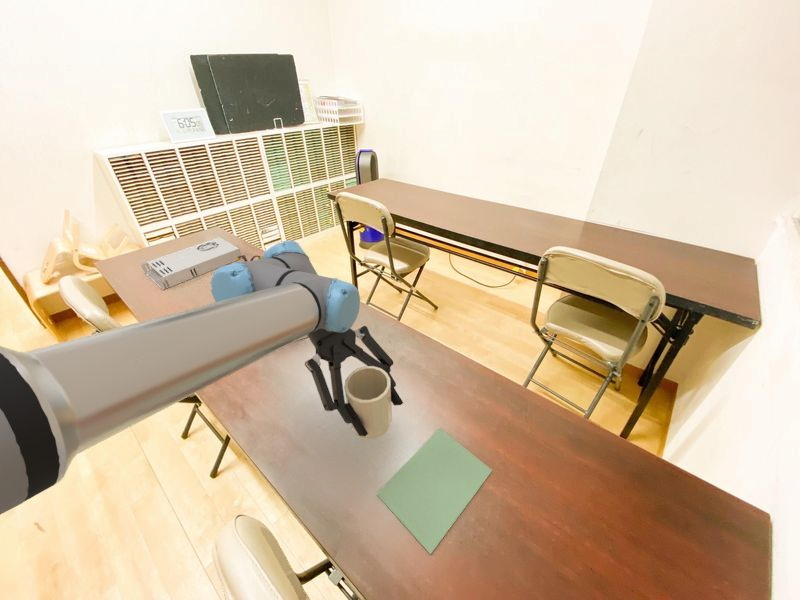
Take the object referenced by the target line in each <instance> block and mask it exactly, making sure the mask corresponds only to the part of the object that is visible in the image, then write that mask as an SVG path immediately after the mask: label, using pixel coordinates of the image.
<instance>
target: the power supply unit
mask: <svg viewBox="0 0 800 600" xmlns="http://www.w3.org/2000/svg"><path fill="white" fill-rule="evenodd" d="M242 255H243V254H242V252H241V250H240V247H238V246H236V245H234V244H233V243H232V242H229V241H227V240H226V239H224V238H222V237H221V236H219V237H215V238H213V239H212V238H211V239H209V240H206V241H203V242H201V243H198V244H195V245H192V246H189V247H186V248H183V249H180V250H177V251H175V252H171V253H169V254H166V255H163V256H160V257H157V258H154V259H152V260H149V261H146V262H143V263H140V267H141V268H142V271H143V272H144V273H145V275H146V276H147V277H148V278H149V279H150V280H151V281H152V283H154V284H156V286H157V287H159V288H160V290H162V291H164V290H166V289H169V288H172V287H174V286H176V285H179V284H181V283H184V282H186V281H189V280H192V279H194V278H197V277H199V276H201V275H203V274H207V273H209V272H212V271H215V270H217V269H218V268H220V267H222V266H226V265H230V264H233V263H235V262H238V261H237V260H236V257H238V256H242ZM241 259H243V258H242V257H241V258H240V260H241Z"/></svg>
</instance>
